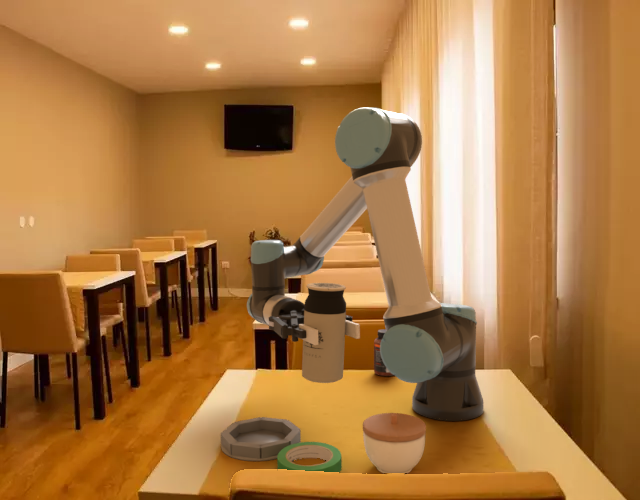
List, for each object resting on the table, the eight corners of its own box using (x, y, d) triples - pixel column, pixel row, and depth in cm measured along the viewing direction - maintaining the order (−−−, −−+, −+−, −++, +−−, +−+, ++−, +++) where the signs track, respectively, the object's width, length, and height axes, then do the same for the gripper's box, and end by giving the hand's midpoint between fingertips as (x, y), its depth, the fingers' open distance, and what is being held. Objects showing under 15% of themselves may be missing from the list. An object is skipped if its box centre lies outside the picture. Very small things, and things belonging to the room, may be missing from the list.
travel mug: (324, 369, 124) (328, 281, 122) (351, 379, 118) (355, 287, 116) (293, 375, 119) (297, 283, 117) (319, 386, 113) (323, 289, 111)
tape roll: (322, 490, 98) (321, 474, 98) (265, 475, 103) (264, 460, 103) (352, 463, 108) (352, 448, 108) (298, 451, 113) (298, 437, 113)
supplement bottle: (396, 377, 156) (396, 333, 155) (372, 376, 157) (372, 333, 156) (397, 370, 161) (397, 328, 160) (375, 369, 163) (375, 327, 162)
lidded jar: (418, 486, 98) (418, 430, 97) (354, 476, 102) (354, 421, 101) (431, 459, 108) (431, 407, 107) (373, 450, 112) (372, 400, 111)
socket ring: (311, 432, 121) (310, 421, 120) (284, 465, 106) (283, 452, 106) (241, 425, 125) (241, 413, 125) (206, 455, 111) (206, 442, 111)
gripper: (329, 325, 138) (385, 346, 118) (241, 337, 129) (286, 362, 109) (328, 293, 138) (384, 308, 118) (240, 302, 128) (285, 321, 108)
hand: (337, 334), depth 113 cm, fingers closed on travel mug, 8 cm apart
